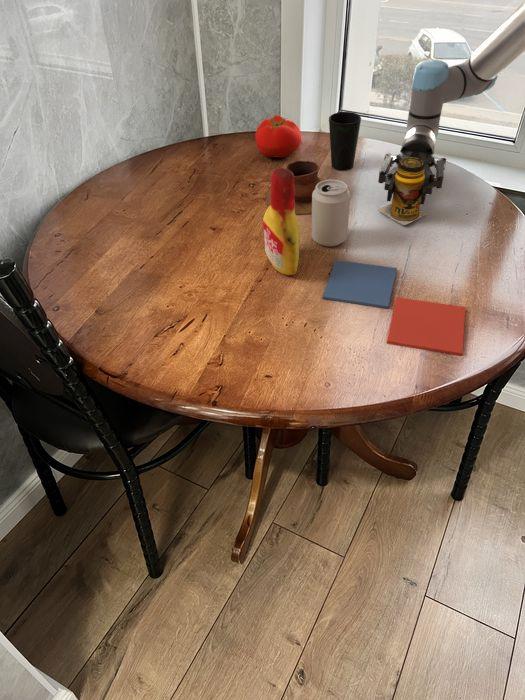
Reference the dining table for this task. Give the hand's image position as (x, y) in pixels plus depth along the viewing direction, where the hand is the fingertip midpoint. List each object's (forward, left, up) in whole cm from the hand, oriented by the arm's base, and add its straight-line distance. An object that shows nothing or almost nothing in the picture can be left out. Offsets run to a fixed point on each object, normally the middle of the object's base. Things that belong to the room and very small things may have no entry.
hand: (406, 196), depth 111 cm
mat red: (-8, +31, -7) cm, 33 cm away
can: (+14, +8, -7) cm, 18 cm away
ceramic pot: (+24, -9, -7) cm, 27 cm away
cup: (+18, -26, -7) cm, 32 cm away
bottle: (+21, +19, -7) cm, 29 cm away
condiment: (+1, -5, -7) cm, 8 cm away
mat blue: (+5, +22, -7) cm, 24 cm away
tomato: (+36, -30, -7) cm, 47 cm away
